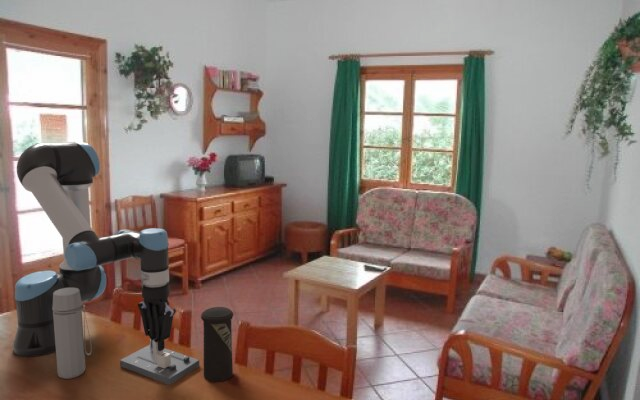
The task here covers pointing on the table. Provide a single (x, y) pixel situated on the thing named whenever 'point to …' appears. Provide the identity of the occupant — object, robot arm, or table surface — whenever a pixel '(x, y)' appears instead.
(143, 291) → the robot arm
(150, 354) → the console
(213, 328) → the container
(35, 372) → the table surface
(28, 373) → the table surface
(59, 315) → the water bottle
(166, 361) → the cream fader
